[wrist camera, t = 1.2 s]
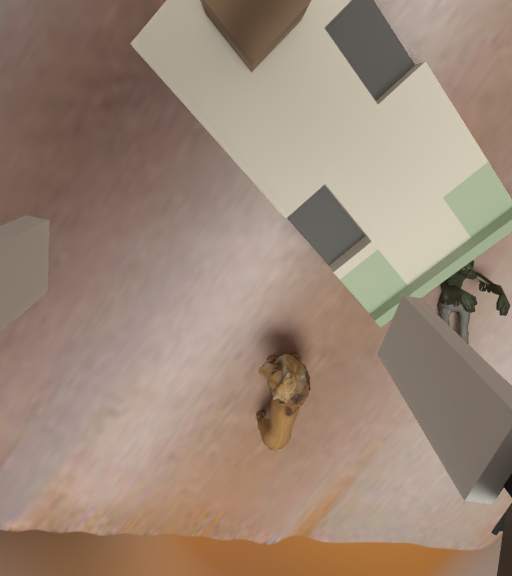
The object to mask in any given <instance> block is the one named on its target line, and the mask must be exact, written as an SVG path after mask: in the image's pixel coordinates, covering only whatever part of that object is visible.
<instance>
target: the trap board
mask: <svg viewBox="0 0 512 576" xmlns="http://www.w3.org/2000/svg"><path fill="white" fill-rule="evenodd" d="M130 44H131V45H132V47H133V48H134V49H135V50H136V51H137V52H138V53H139V54H140V56H141V57H142V58H143V59H144V60H145V61H146V62H147V63H148V65H149V66H150V67H151V68H152V69H153V70H154V71H155V72H156V74H157V75H158V76H159V77H160V78H161V79H162V80H163V81H164V83H165V84H166V85H167V86H168V87H169V88H170V89H171V90H172V92H173V93H174V94H175V95H176V96H177V97H178V98H179V99H180V101H181V102H182V103H183V104H184V105H185V106H186V107H187V108H188V110H189V111H190V112H191V113H192V114H193V115H194V116H195V117H196V119H197V120H198V121H199V122H200V123H201V124H202V125H203V126H204V128H205V129H206V130H207V131H208V132H209V133H210V134H211V135H212V137H213V138H214V139H215V140H216V141H217V142H218V143H219V144H220V146H221V147H222V148H223V149H224V150H225V151H226V152H227V153H228V155H229V156H230V157H231V158H232V159H233V160H234V161H235V162H236V164H237V165H238V166H239V167H240V168H241V169H242V170H243V171H244V173H245V174H246V175H247V176H248V177H249V178H250V179H251V180H252V182H253V183H254V184H255V185H256V186H257V187H258V188H259V189H260V191H261V192H262V193H263V194H264V195H265V196H266V197H267V198H268V200H269V201H270V202H271V203H272V204H273V205H274V206H275V207H276V209H277V210H278V211H279V212H280V213H281V214H282V215H283V216H284V218H285V219H286V218H287V219H288V220H289V221H290V222H291V223H292V224H293V225H294V226H295V228H296V229H297V230H298V231H299V232H300V233H301V234H302V235H303V237H304V238H305V239H306V240H307V241H308V242H309V243H310V245H311V246H312V247H313V248H314V249H315V250H316V251H317V252H318V254H319V255H320V256H321V257H322V258H323V259H324V260H325V261H326V263H327V264H328V265H329V266H330V268H331V269H332V271H333V273H334V274H335V275H336V276H337V277H338V278H339V279H340V281H341V282H342V283H343V284H344V285H345V286H346V287H347V289H348V290H349V291H350V292H351V293H352V294H353V295H354V296H355V298H356V299H357V300H358V301H359V302H360V303H361V304H362V305H363V307H364V308H365V309H366V310H367V311H368V312H369V313H370V315H371V316H372V318H373V319H374V321H375V322H376V323H377V324H378V325H379V326H380V327H382V326H383V325H385V324H386V323H387V322H389V321H390V320H392V319H393V317H394V314H395V312H396V310H397V307H398V305H399V303H400V300H401V298H402V295H406V296H411V297H416V298H422V297H423V296H424V295H426V294H427V293H429V292H430V291H431V290H433V289H434V288H435V287H437V286H438V285H439V284H441V283H442V282H444V281H445V280H446V279H448V278H449V277H450V276H452V275H453V274H455V273H456V272H457V271H459V270H460V269H461V268H463V267H464V266H465V265H467V264H468V263H470V262H471V261H472V260H474V259H475V258H476V257H478V256H479V255H481V254H482V253H483V252H485V251H486V250H487V249H489V248H490V247H491V246H493V245H494V244H496V243H497V242H498V241H500V240H501V239H502V238H504V237H505V236H507V235H508V234H509V233H511V232H512V199H511V197H510V195H509V194H508V192H507V191H506V189H505V187H504V186H503V184H502V183H501V181H500V179H499V178H498V176H497V175H496V173H495V171H494V170H493V168H492V167H491V165H490V163H489V162H488V160H487V159H486V157H485V155H484V154H483V152H482V151H481V149H480V148H479V146H478V144H477V143H476V141H475V140H474V138H473V136H472V135H471V133H470V132H469V130H468V128H467V127H466V125H465V124H464V122H463V120H462V119H461V117H460V116H459V114H458V112H457V111H456V109H455V108H454V106H453V104H452V103H451V101H450V100H449V98H448V96H447V95H446V93H445V92H444V90H443V88H442V87H441V85H440V84H439V82H438V80H437V79H436V77H435V76H434V74H433V72H432V71H431V69H430V68H429V66H428V64H427V63H426V61H425V62H423V63H420V64H417V65H414V63H413V62H412V60H411V58H410V57H409V55H408V54H407V52H406V51H405V49H404V47H403V46H402V44H401V43H400V41H399V40H398V38H397V36H396V35H395V33H394V32H393V30H392V29H391V27H390V25H389V24H388V22H387V21H386V19H385V18H384V16H383V15H382V13H381V11H380V10H379V8H378V7H377V5H376V4H375V2H374V0H311V2H310V4H309V6H308V8H307V10H306V12H305V14H304V16H303V18H302V20H301V21H300V22H299V23H298V24H297V26H296V27H295V28H294V29H293V30H292V31H291V32H290V33H289V34H288V35H287V36H286V37H285V38H284V39H283V40H282V41H281V42H280V43H279V44H278V45H277V46H276V47H275V48H274V50H273V51H272V52H271V53H270V54H269V55H268V56H267V57H266V58H265V59H264V60H263V61H262V62H261V63H260V64H259V65H258V66H257V67H256V68H255V69H254V70H253V71H252V72H251V71H250V70H249V68H248V67H247V66H246V65H245V63H244V62H243V61H242V60H241V58H240V57H239V56H238V55H237V53H236V52H235V51H234V50H233V48H232V47H231V46H230V45H229V43H228V42H227V41H226V40H225V38H224V37H223V36H222V35H221V33H220V32H219V31H218V30H217V28H216V27H215V26H214V25H213V23H212V22H211V21H210V20H209V18H208V17H207V16H206V14H205V12H204V9H203V6H202V3H201V1H200V0H166V2H165V3H164V4H163V5H162V6H161V8H160V9H159V10H158V11H157V12H156V14H155V15H154V16H153V17H152V18H151V20H150V21H149V22H148V23H147V24H146V26H145V27H144V28H143V29H142V30H141V32H140V33H139V34H138V35H137V36H136V38H135V39H134V40H133V41H132V42H131V43H130Z"/></svg>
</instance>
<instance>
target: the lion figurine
mask: <svg viewBox="0 0 512 576" xmlns="http://www.w3.org/2000/svg"><path fill="white" fill-rule="evenodd" d="M300 361H301V357H300V355H299V354H292V355H288V354H285V355H282V356H280V357H279V358H277V357H276V356H270V357H269V358H268V359H267V361H266V362H265V363H264V364H263V365H262V367H261V368H259V370H258V373H259V374H261V375H262V376H264V377H265V378H267V380H268V385H269V386H270V387H271V389H270V391H271V392H272V395H273V396H272V400H271V409H270V416H271V418H270V419H266V415H265V413H264V412H258V413H257V415H256V416H257V421H258V429H259V431H260V433H261V437H262V440H263V442H264V444H265V445H266V446H268V447H269V449H270V450H272V451H275V450H277V449H281V448H283V447H284V446H286V444H287V443H288V442H289V440H290V438H291V432H292V427H293V424H294V422H295V419H296V417H297V414H298V412H299V408H300V406H301V405H302V404H303V403H304V401H305V399H306V398H307V397H308V394H309V391H310V389H311V388H310V381H309V380H310V376H309V374H308V371H307V369H306V366H305V365H304V364H302V363H301V362H300Z"/></svg>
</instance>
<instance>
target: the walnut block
mask: <svg viewBox="0 0 512 576" xmlns="http://www.w3.org/2000/svg"><path fill="white" fill-rule="evenodd" d="M200 1H201V3H202V6H203V9H204V12H205V14H206V16H207V17H208V18H209V20H210V21H211V22H212V23H213V25H214V26H215V27H216V28H217V30H218V31H219V32H220V33H221V35H222V36H223V37H224V38H225V40H226V41H227V42H228V43H229V45H230V46H231V47H232V48H233V50H234V51H235V52H236V53H237V55H238V56H239V57H240V58H241V60H242V61H243V62H244V63H245V65H246V66H247V67H248V68H249V70H250V71H251V72H252V71H253V70H254V69H255V68H256V67H257V66H258V65H259V64H260V63H261V62H262V61H263V60H264V59H265V58H266V57H267V56H268V55H269V54H270V53H271V52H272V51H273V50H274V48H275V47H276V46H277V45H278V44H279V43H280V42H281V41H282V40H283V39H284V38H285V37H286V36H287V35H288V34H289V33H290V32H291V31H292V30H293V29H294V28H295V27H296V26H297V24H298V23H299V22H300V21H301V20H302V18H303V16H304V14H305V12H306V10H307V8H308V6H309V4H310V2H311V0H200Z"/></svg>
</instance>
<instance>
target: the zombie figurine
mask: <svg viewBox="0 0 512 576" xmlns="http://www.w3.org/2000/svg"><path fill="white" fill-rule="evenodd" d="M473 266H474V261H473V260H472V261H471V262H470V263H468V264H467V265H465V266H464V267H463V268H461V269H460V270H459V271H457V272H456V273H455V274H453V275H452V276H450V277H449V278H448V279H446V280H445V281H444V282H442V283H441V284H440V285H441V288H442V291H443V292H442V295H441V299H440V302H439V304H438V305H437V306H438V308H439V310H440V315H441V318H442V319H443V320H444V321H445V322H446V323H447V324H448V325H449V326H450V324H449V317H450V313H451V312H457V313H458V316H459V325H460V331H459V336H460V337H461V338H462V339H463V340H464V341H465V342H466V343H467V344H469V342H468V335H469V333H468V324H469V319H470V313H472V312H475V307H474V305H476V304H477V301H476V297H475V296H473V295H471V294H469V293H468V292H466V291H464V290H462V289H461V286H462V283H463V281H464V280H465V279H466V278H468V279H472V280H473V279H475V278H477V279H479V281H480V284H479V290H480V291H481V288H482V292H483V291H486V289H487V291H488V292H489V293H490V291H492V292H493V293H494V294H498V295H500V296H499V298H498V301H497V307H496V310H499V311H500V315H505V316H506V315H507V313H508V310H509V307H510V304H509V302H508V300H507V297H506V295H505V293H504V292H503V290H502V288H501V286H500V285H497V284H494V283H492V282H491V281H490V280H488V279H487V278H486V277H484V276H483V275H482V274H480V273H477V272H474V271H473ZM485 284H486V287H485ZM482 285H483V287H482ZM484 287H485V288H484Z"/></svg>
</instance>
